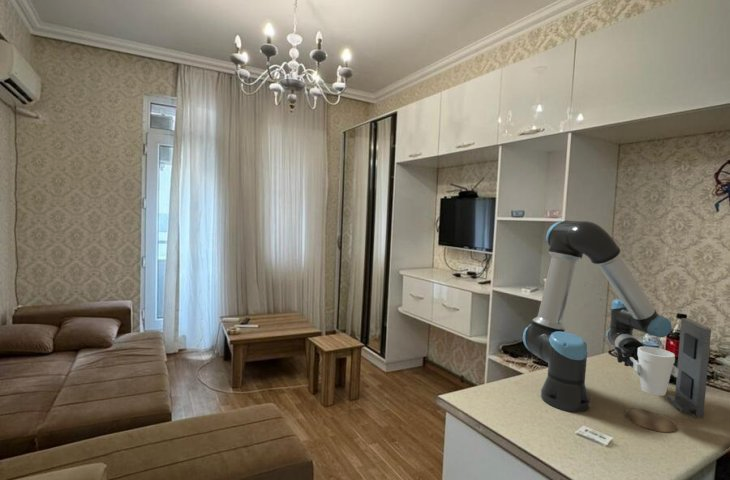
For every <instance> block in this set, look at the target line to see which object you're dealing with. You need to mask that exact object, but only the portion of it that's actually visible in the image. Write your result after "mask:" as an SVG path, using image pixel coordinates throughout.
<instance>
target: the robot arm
mask: <svg viewBox="0 0 730 480" xmlns="http://www.w3.org/2000/svg"><path fill="white" fill-rule="evenodd" d="M545 240H546V243H547V245H548V247H549V249H548V254H549V255H550V257H551V259H550V263H549V266H548V267H549V268H548V272H547V275H546V281H545V285H544V288H543V292H542V295H541V296H542V297H541V302H540V304H539V305H540V306H539V309H538V314H537V316H536V317H534V318H533V319H532V320H531V324H530V323H529V325H528V326H527V327H525V329H524V330H523V334H522V342H523V344H524V347H525V348H526V349H527V350H528V351H529V352H530V353H531V354H533V355H534V356H535V357H537V358H539V359H540V360H542V361H544V362H545V363H546V364H548V365H547V376H546V378H545V381H544V383H543V385H542V388H541V389H540V390H541V391H540V397H541V399H542V401H543V402H544V403H546V404H547V405H550V406H552V407H553V408H557V409H560V410H563V411H566V412H576V413H580V412H581V413H582V412H586V411H587V410H589V409H590V398H589V394H588V390H587V387H586V371H587V362H588V361H587V357H588V345H587V342H586V341H585V340H584V339H583V338H582V337H580V336H579V335H577V334H574V333H570V332H566V331H565V330H566V327H565V326H564V324H563V320H564V314H565V312H566V307H567V303H568V298H569V293H570V291H571V286H572V282H573V278H574V273H575V269H576V265H577V262H579V261H581V260H582V258H583V256H584V255H585V256H586V257H587V258H589V260H590V261H591V263H592V264H593V265H597V266H598V267H599V269H600V271H601V273H602V274H603V275H604V277H605V279H606V281H608V282H609V284H610V286H611V287H612V289H613V290H614V292H615V294H617V296H618V299H616V298H615V299H613V300H612V303H611V307H610V326H609V329H608V330H606V339H607V340H608V342H609V343H610V345H611V346H613V347H614V355H615V356H616V359H617V363H620V364H622V363H624V367H631V368H632V369H633V370H634V371H635V372H636V373H639V374H640V364H639V360H638V355H637V352H638V347H645V345H644V344H643V343H642V342H641V341H640V340H638V339H637V338H636V337H634V336H633V335H634V333H633V332H634V330H636V331H639V332H641V333H644V334H647V335H649V336H653V337H656V338H665V337H667V336H668V335H669V334H671V331H672V329H673V328H672V327H673V325H672V322H671V321H670V319H669V318H667V317H665V316H663V315H659V313H658V312H657V309H655V308H654V305H653V304H652V302H651V301H650V300H649V297H648V296H647V294H646V293H645V292H644V291H643V289H642V288H641V286H640V284H639V283H638V280H637V279H636V277H635V275H633V274H632V271H631V270H630V268H629V267H628V265H627V264H626V262H625V261H624V259H623V258H622V256H621V252H622V251H621V249H620V247H619V245H618V244H617V242H616V241H615V240H614V239H613V238H612V236H611V235H610V234H609V232H607V231H606V230H605V229H604V228H603V227H602V226H600V225H599V224H597V223H595V222H593V221H588V220H587V221H586V220H582V221H581V220H563V221H562V220H561V221H557V222H555V223H553V224H552V225H551V226H550V227H549V228H548V230H547V232H546V236H545ZM677 367H678V360H675V363H674V364H673V368H672V372H671V376H673V377H674V378H677V377H678V368H677Z"/></svg>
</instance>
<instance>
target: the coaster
mask: <svg viewBox="0 0 730 480" xmlns="http://www.w3.org/2000/svg"><path fill="white" fill-rule="evenodd" d="M625 417H626V419H628V420H629V421H630V422H632V423H633V424H634V425H637V426H639V427H641V428H644V429H647V430H650V431H654V432H659V433H673V432H675V431H676V429H677V426H676V424H675V422H674V421H672V420H671V419H669V418H668V417H666V416H664V415H662V414H659V413H657V412H655V411H651V410H647V409H642V408H630V409H627V410H626V411H625Z"/></svg>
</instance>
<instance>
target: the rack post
mask: <svg viewBox="0 0 730 480" xmlns="http://www.w3.org/2000/svg"><path fill="white" fill-rule="evenodd" d="M679 333H680V334H679V346H678V356H677V357H678V358H677V368H678V377H676V378H675V379H676V380H675V381H676V382H675V390H674V391H675V393H674V395H667V401H669V402H670V403H671V404H672V405H673V406H674V407H675V408H676V409H678V411H679V412H680V413H682V414H687V415H692V416H694V417H695V418H697V419H704V413H705V404H706V392H707V391H706V390H707V378H708V370H709V369H708V367H709V359H710V358H709V357H710V346H711V335H712V329H711V328H709V327H707V326H705V325H703V324H701V323H698V322H697V321H694V320H692V319H690V318H684V317H681V322H680V331H679Z"/></svg>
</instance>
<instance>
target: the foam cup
mask: <svg viewBox="0 0 730 480" xmlns="http://www.w3.org/2000/svg"><path fill="white" fill-rule="evenodd" d="M644 346H645V345H644ZM637 355H638V360H637V361H638V363H639V364H640V373H639V381H640V389H641V390H642V391H643V392H645V393H648V394H650V395H652V396H653V395H654V396H659V397H661V396H662V397H663V396H665V395H666V393H667V391H668V386H669V383H670V379H671V376H672V374H671V372H672V368H673V364H674V363H675V361H676V355H675V353H674V352H671V351H669V350H668V349H667V350H666V349H663V348H659V347H655V346H654V347H653V346H645V347H638V352H637Z"/></svg>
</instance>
